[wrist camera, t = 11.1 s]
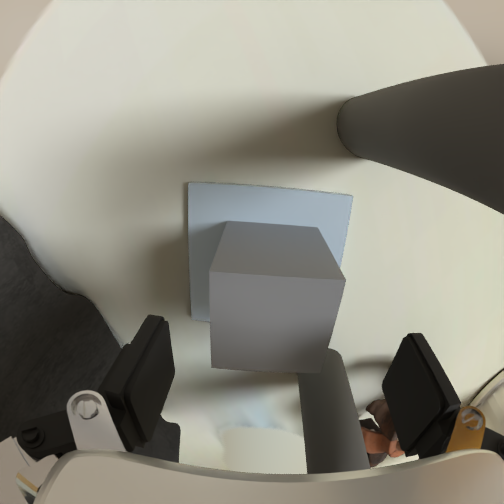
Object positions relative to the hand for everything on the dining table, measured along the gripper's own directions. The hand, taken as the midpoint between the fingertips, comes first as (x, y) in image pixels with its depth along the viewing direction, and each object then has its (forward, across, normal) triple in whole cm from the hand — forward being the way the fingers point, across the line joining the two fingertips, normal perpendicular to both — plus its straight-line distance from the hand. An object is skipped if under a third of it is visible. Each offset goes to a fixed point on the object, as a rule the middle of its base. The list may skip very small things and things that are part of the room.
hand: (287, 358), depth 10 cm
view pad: (+7, +1, -1) cm, 8 cm away
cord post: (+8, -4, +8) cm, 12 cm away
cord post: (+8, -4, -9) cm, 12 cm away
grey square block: (+7, +1, -1) cm, 7 cm away
